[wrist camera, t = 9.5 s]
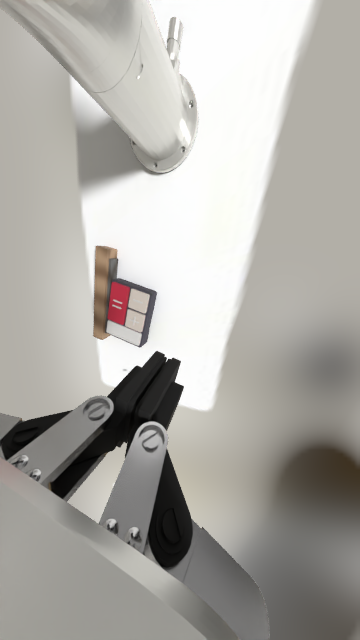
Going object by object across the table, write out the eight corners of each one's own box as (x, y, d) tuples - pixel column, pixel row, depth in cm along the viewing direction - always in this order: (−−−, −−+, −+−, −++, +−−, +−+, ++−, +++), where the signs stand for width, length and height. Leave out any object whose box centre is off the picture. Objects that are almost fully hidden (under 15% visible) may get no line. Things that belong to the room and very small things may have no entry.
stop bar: (106, 246, 41) (95, 245, 38) (119, 250, 41) (109, 249, 38) (102, 331, 51) (93, 336, 48) (112, 335, 51) (104, 340, 48)
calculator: (150, 293, 38) (139, 349, 44) (158, 291, 42) (147, 342, 48) (109, 278, 40) (103, 333, 46) (120, 277, 44) (113, 328, 50)
